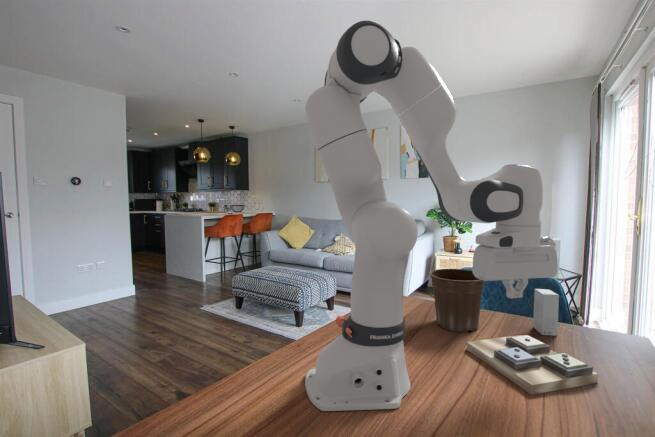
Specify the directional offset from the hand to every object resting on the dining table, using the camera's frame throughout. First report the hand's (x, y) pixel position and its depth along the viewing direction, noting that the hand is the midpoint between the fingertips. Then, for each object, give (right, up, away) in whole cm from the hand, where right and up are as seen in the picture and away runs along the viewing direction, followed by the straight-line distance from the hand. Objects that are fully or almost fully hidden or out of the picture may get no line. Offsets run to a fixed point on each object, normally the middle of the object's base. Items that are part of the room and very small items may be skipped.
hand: (514, 297), depth 73 cm
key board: (+4, -17, +3) cm, 17 cm away
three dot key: (+10, -15, -3) cm, 18 cm away
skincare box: (+21, -16, +21) cm, 34 cm away
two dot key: (+1, -15, 0) cm, 15 cm away
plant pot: (-2, -15, +27) cm, 31 cm away
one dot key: (+7, -14, +7) cm, 17 cm away
